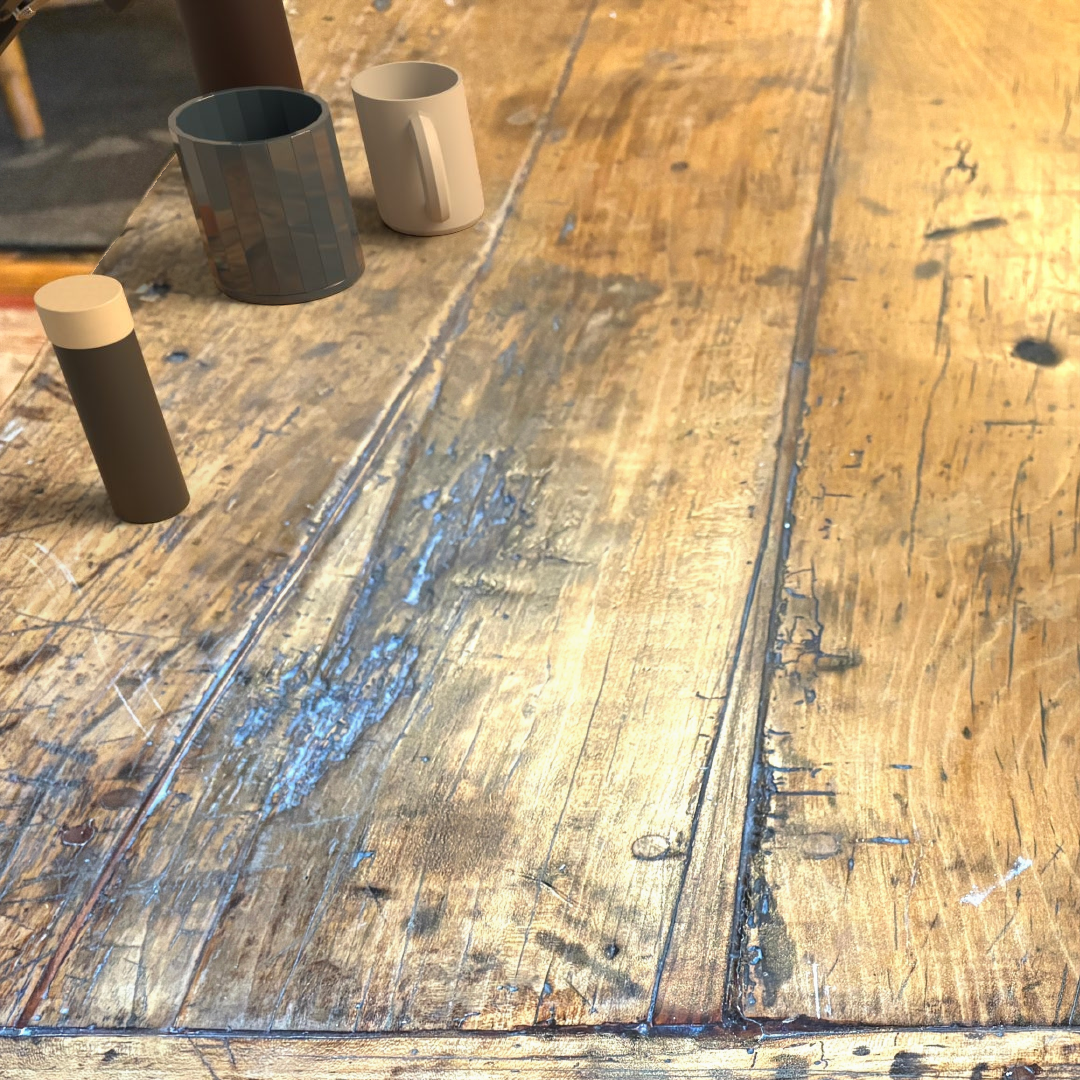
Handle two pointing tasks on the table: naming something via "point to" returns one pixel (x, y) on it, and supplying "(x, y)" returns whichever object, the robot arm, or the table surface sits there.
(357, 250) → the pencil cup
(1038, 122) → the table surface
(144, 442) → the glue stick
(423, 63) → the cup
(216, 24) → the bottle
